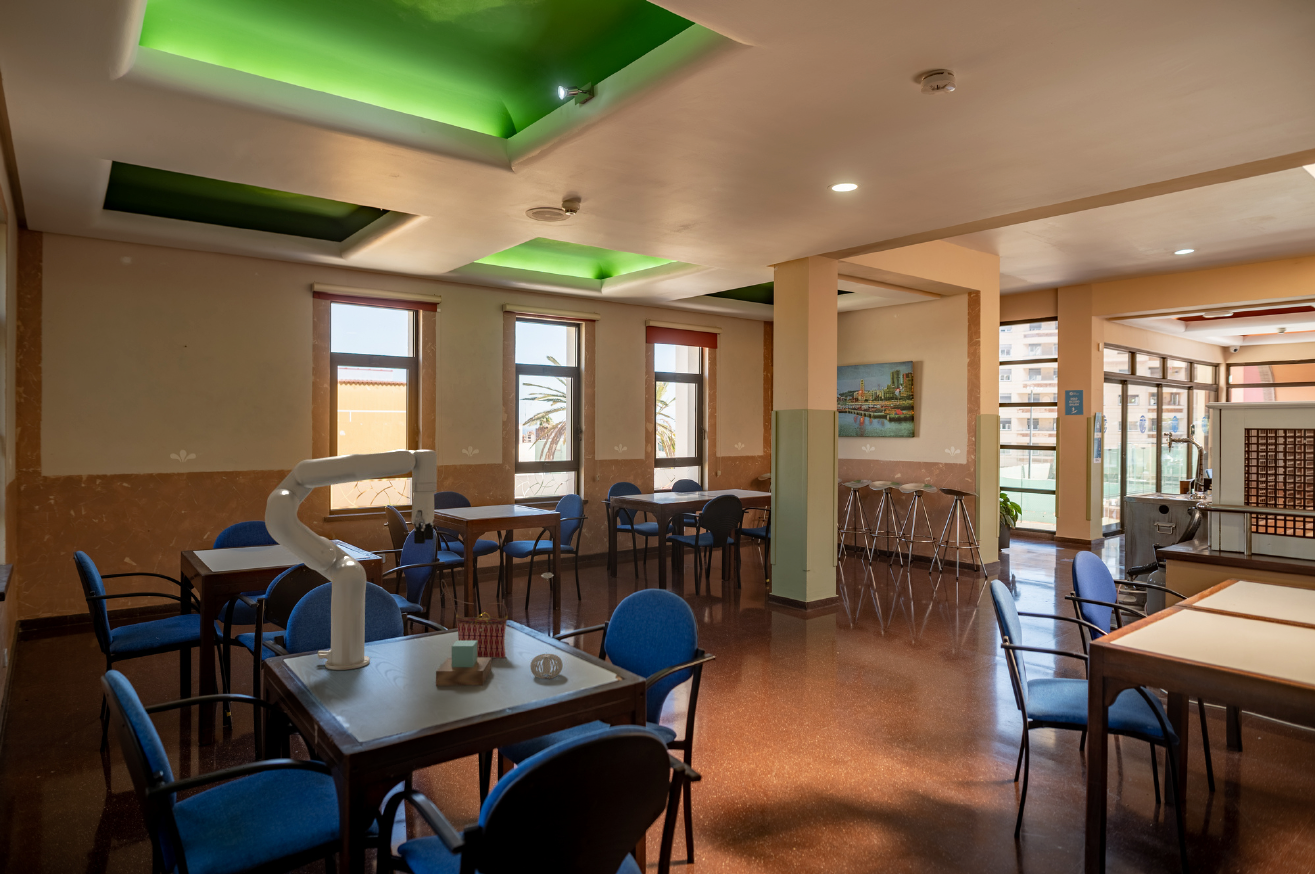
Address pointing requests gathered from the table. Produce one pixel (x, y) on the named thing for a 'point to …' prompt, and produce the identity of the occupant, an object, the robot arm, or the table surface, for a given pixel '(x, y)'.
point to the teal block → (464, 653)
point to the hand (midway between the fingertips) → (423, 541)
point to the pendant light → (546, 658)
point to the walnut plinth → (463, 673)
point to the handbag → (483, 633)
